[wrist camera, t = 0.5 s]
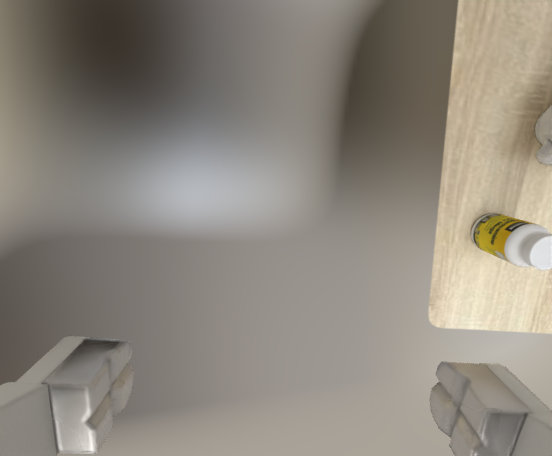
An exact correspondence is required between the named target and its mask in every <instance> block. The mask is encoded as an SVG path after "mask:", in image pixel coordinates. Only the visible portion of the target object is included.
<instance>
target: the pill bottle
mask: <svg viewBox="0 0 552 456" xmlns="http://www.w3.org/2000/svg"><path fill="white" fill-rule="evenodd" d="M471 238H472V241H473V243H474V244H475V245H476V246H477V247H478V248H480V249H482V250H484V251H486V252H488V253H490V254H492V255H495V256H497V257H499V258H501V259H503V260H505V261H507V262H509V263H512V264H514V265H516V266H519V267H534V268H536V269H539V270H549V269H552V234H550V233H549V231H548V230H547V229H545V228H544V227H542V226H540V225H537V224H533V223H530V222H526V221H523V220H519V219H516V218H512V217H508V216H505V215H501V214H496V213H492V214H487V215H485V216H483V217H481V218H480V219H478V220H477V221H476V223H475V224H474V226H473V228H472V231H471Z"/></svg>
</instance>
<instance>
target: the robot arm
mask: <svg viewBox="0 0 552 456" xmlns="http://www.w3.org/2000/svg"><path fill="white" fill-rule="evenodd" d="M131 356H132V346H131V343H130V342H129V341H125V340H114V339H102V338H91V337H90V338H88V337H76V336H69V337H66V338H63V339H62V340H61V341H60V342H59V343H58V344H57V345H56V346H55V347H53V349H51V350H50V351H49V352H48V353H47V354H46V355H45V356H44V357H43V358H41V359H40V360H39V361H38V362H37V363H36V364H35V365H34V366H33V367H32V368H30V369H29V370H28V371H27V372H26V373H25V374H24V375H23V376H22V377H21V378H19V379H18V380H17V381H16V382H7V383H5V384H3V385H0V456H57V453H62V454H63V453H64V454H98V452H99V450H100V449H101V447H102V445H103V443H104V442H105V440H106V438H107V436H108V435H109V433H110V431H111V430H112V428H113V420H112V417H114V416H115V415H116V414H118V413H119V412H120V411H122V410H123V408H124V406H125V405H126V403H127V401H128V398H129V395H130V392H131V389H132V384H133V369H132V368H131V367H130V365H129V364H128V363H127V362H128V361H129V359H130V358H131ZM436 376H437V378H438V380H439V382H438V383H437V384H436V385H435V386H434V387H433V388H432V391H431V395H430V407H431V412H432V415H433V418H434V420H435V422H436V424H437V425H438V427H439V429H440V430H441V431H443V432H444V433H445V434H446V435H448V436H449V437H450V444H449V446H450V448H451V450H452V451H453V453H454V455H455V456H552V411H551V410H550V409H549V408H548V407H547V406H546V405H545V404H544V403H543V402H542V401H541V400H540V399H539V398H538V397H537V396H536V395H535V394H533V393H532V392H531V391H530V390H529V389H528V388H527V387H526V386H525V385H524V384H523V383H522V382H521V381H520V380H519V379H518V378H517V377H515V376H514V375H513V374H512V373H511V372H510V371H509V370H508V369H507V368H506V367H504V366H502V365H500V364H488V363H487V364H486V363H479V364H473V363H456V362H441V363H440V364H439V366H438V368H437V371H436Z"/></svg>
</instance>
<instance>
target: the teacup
mask: <svg viewBox="0 0 552 456" xmlns="http://www.w3.org/2000/svg"><path fill="white" fill-rule="evenodd" d="M535 134H536V137H537V139H538V141H539V142H540V143H541V144H543V146H542V147H541V148H540V149H539V150H538V151H537V153H536V158H537V160H538V161H539V162H540V163H541V164H545V165H552V104H551V106H550V107H549V108H548V109H547V110H546V111H545V112H544V113H543V114H542V115H541V116H540V117H539V119H538V121H537V123H536V127H535ZM550 153H551V154H550Z"/></svg>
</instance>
